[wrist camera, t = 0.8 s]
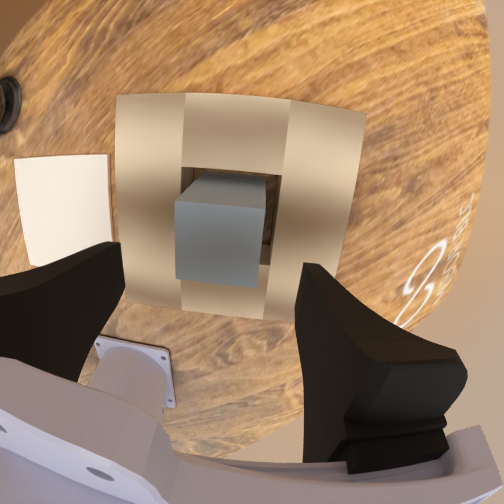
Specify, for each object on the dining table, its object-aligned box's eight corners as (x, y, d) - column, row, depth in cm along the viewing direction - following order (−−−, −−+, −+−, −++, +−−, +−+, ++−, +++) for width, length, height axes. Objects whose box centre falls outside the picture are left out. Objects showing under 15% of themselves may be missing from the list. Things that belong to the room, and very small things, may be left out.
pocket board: (316, 300, 23) (322, 324, 20) (140, 280, 23) (126, 301, 20) (352, 113, 17) (366, 113, 14) (137, 96, 17) (116, 95, 14)
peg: (259, 233, 21) (256, 288, 15) (202, 227, 21) (175, 278, 15) (265, 176, 19) (265, 209, 13) (204, 170, 19) (174, 200, 13)
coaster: (118, 277, 23) (116, 279, 23) (32, 262, 23) (30, 264, 23) (109, 153, 19) (107, 154, 18) (17, 158, 19) (14, 159, 18)
